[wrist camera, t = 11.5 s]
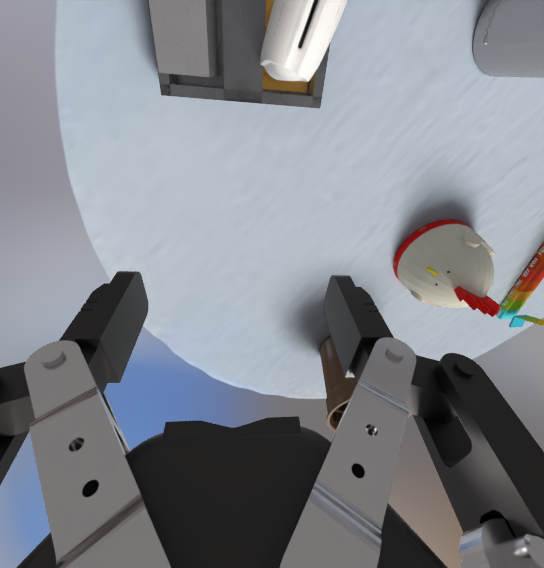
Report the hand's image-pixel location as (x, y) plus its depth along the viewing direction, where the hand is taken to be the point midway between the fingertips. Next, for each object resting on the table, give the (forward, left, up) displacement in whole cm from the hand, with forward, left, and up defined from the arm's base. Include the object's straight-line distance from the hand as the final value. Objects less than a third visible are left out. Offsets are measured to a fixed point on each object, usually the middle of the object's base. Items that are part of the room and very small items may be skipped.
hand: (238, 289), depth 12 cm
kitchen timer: (-34, +16, -30) cm, 48 cm away
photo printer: (-5, -12, -26) cm, 29 cm away
